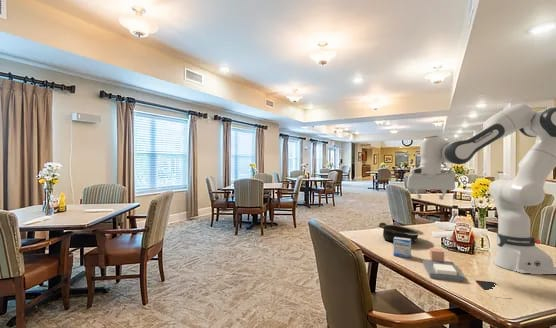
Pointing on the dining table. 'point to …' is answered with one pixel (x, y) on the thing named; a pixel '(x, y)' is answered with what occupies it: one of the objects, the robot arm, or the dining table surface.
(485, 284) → the smartphone
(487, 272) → the dining table surface
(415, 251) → the dining table surface
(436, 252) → the stub
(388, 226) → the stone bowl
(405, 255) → the medicine box
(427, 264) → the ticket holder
